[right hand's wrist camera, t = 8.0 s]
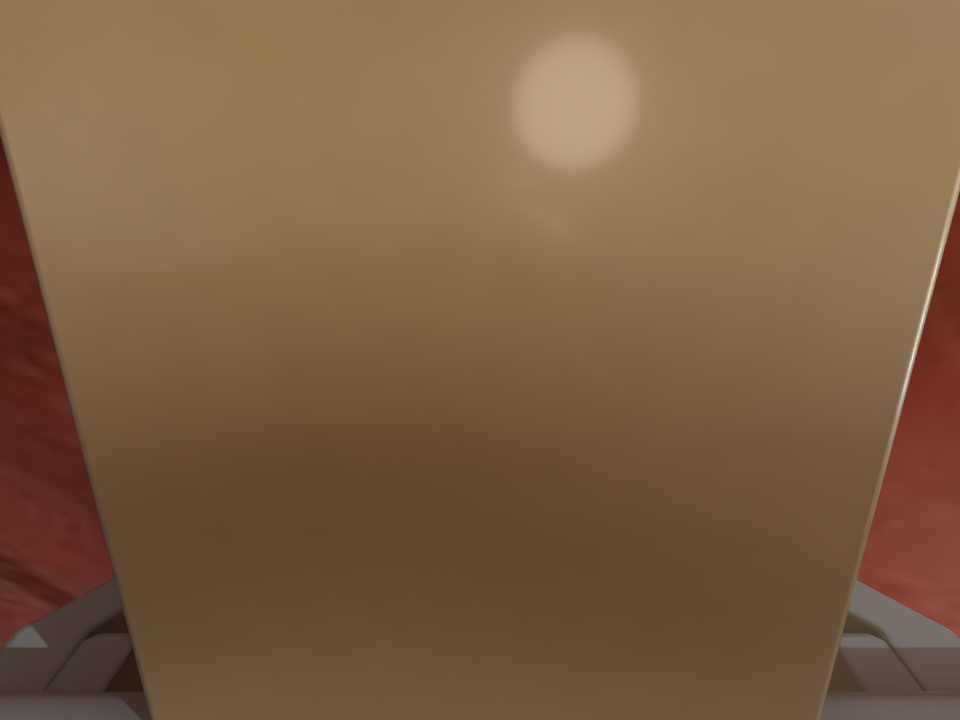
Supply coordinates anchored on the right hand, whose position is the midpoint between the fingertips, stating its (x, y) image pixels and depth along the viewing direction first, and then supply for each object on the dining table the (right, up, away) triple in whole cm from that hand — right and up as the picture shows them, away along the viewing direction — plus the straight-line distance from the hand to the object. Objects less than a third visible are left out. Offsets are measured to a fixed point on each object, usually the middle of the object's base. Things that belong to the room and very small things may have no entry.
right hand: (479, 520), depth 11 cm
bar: (0, +8, 0) cm, 9 cm away
